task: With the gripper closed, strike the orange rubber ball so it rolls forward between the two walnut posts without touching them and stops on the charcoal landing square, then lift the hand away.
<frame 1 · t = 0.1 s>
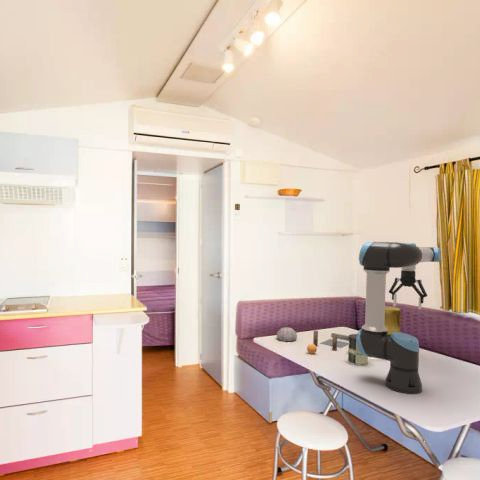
hand: (407, 307, 219), 28 cm above the table, tool pointing down, fingers open, 13 cm apart
ball: (311, 348, 220), on the table
pitcher: (387, 347, 239), on the table
left post: (315, 345, 237), on the table
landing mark: (335, 343, 244), on the table
coffee can: (357, 363, 206), on the table
right post: (334, 350, 229), on the table
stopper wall: (344, 339, 254), on the table
sea urchin shell: (286, 340, 250), on the table
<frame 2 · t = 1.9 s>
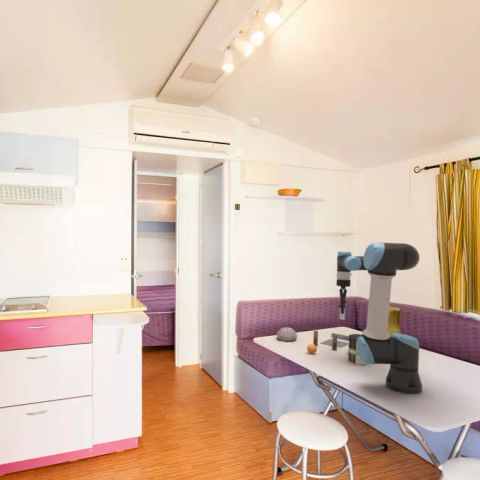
hand: (342, 317, 215), 22 cm above the table, tool pointing down, fingers open, 13 cm apart
nothing on the table moved.
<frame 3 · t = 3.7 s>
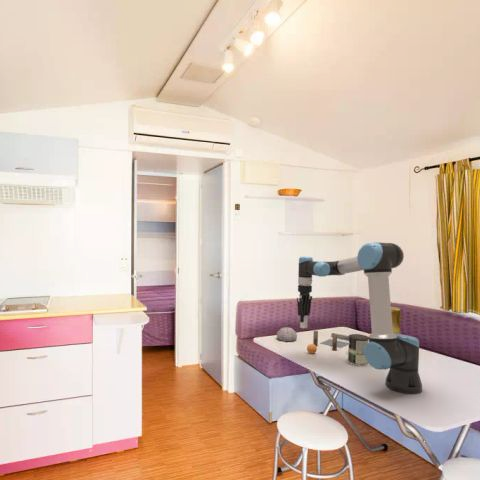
hand: (303, 327, 213), 16 cm above the table, tool pointing down, fingers closed
nothing on the table moved.
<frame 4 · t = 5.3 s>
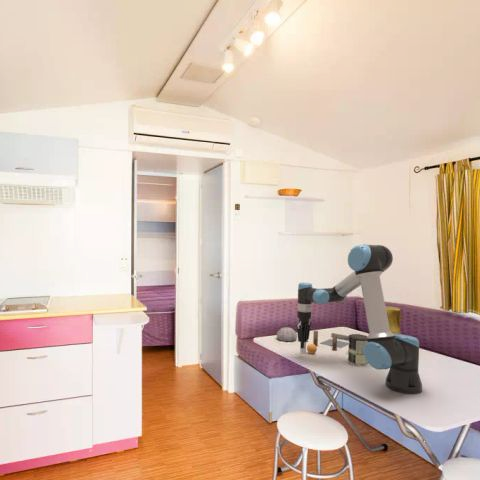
hand: (303, 353, 213), 2 cm above the table, tool pointing down, fingers closed
nothing on the table moved.
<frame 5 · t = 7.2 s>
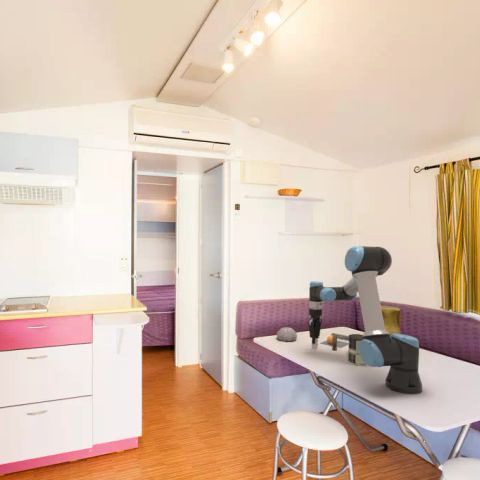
hand: (314, 349, 223), 2 cm above the table, tool pointing down, fingers closed
ball: (331, 339, 242), on the table
everything else where it was.
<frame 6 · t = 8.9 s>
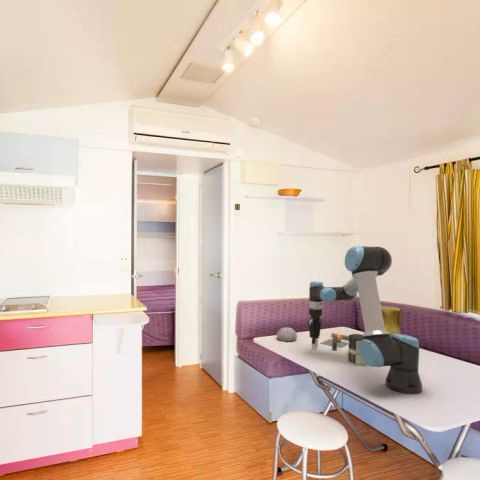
hand: (314, 349, 223), 2 cm above the table, tool pointing down, fingers closed
ball: (337, 337, 248), on the table
everything else where it was.
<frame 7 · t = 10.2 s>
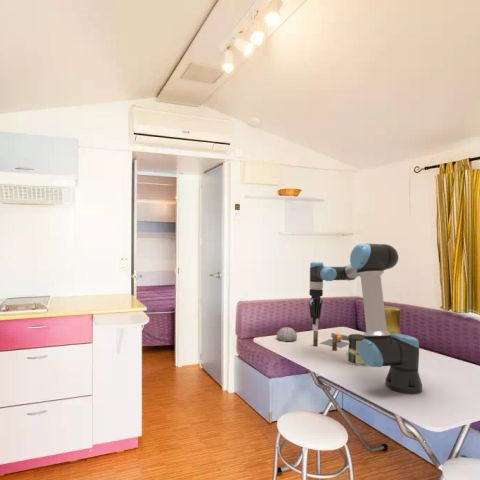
hand: (315, 329, 222), 13 cm above the table, tool pointing down, fingers closed
nothing on the table moved.
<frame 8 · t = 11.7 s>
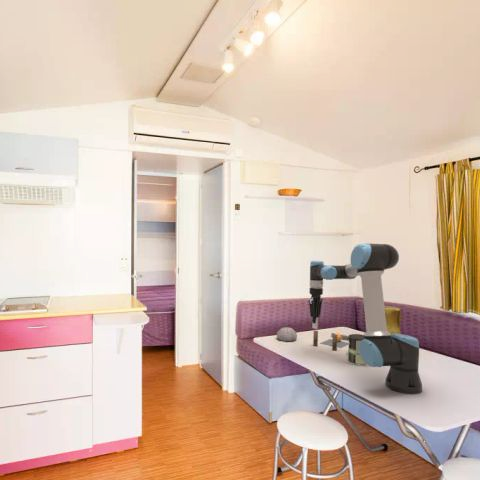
hand: (315, 328, 223), 14 cm above the table, tool pointing down, fingers closed
nothing on the table moved.
at the end: ball 5.5 cm from the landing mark (horizontally); ball never touched right post; ball never touched left post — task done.
